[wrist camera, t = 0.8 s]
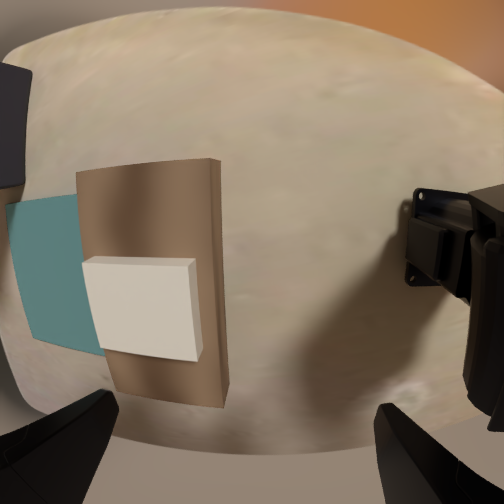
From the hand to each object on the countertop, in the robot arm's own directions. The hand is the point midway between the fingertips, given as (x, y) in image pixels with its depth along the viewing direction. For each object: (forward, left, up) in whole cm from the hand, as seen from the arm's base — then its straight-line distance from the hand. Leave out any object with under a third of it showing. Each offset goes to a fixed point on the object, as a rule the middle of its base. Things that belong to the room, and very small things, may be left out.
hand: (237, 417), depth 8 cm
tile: (+7, 0, -8) cm, 11 cm away
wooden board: (+7, +1, -12) cm, 14 cm away
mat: (+18, +1, -12) cm, 21 cm away
